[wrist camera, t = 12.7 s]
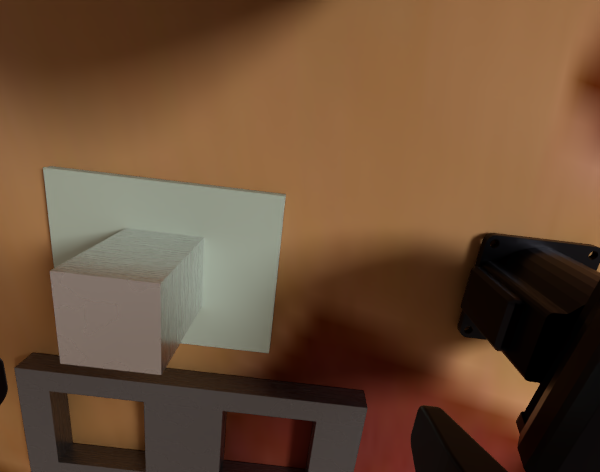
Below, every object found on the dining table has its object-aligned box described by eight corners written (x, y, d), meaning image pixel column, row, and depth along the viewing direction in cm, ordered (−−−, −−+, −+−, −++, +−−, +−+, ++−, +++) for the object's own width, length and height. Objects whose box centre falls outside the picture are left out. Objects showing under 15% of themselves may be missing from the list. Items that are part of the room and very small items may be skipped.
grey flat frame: (363, 390, 23) (367, 408, 22) (343, 488, 26) (345, 510, 24) (32, 352, 23) (14, 367, 22) (47, 455, 26) (31, 475, 24)
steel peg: (204, 237, 20) (160, 283, 14) (202, 306, 21) (161, 375, 15) (126, 228, 20) (49, 270, 14) (128, 298, 21) (60, 363, 15)
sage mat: (285, 194, 19) (285, 196, 19) (269, 347, 22) (268, 353, 22) (50, 166, 19) (43, 167, 19) (67, 324, 22) (60, 329, 22)
